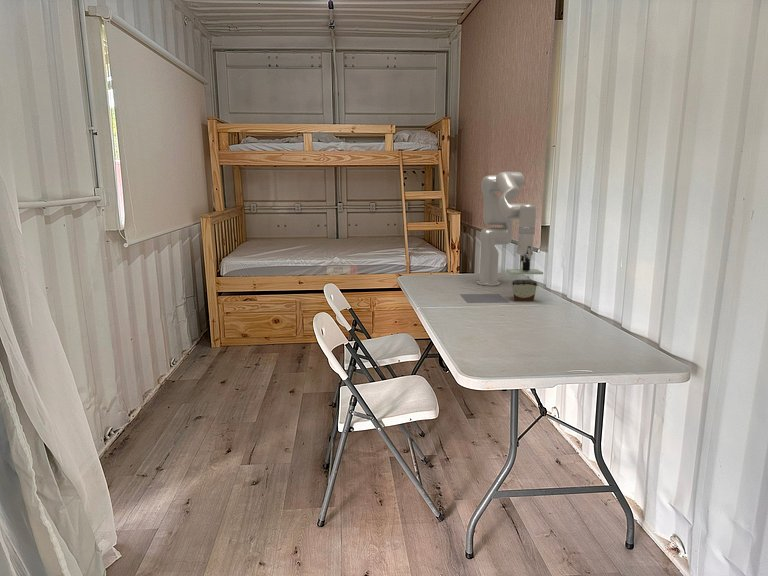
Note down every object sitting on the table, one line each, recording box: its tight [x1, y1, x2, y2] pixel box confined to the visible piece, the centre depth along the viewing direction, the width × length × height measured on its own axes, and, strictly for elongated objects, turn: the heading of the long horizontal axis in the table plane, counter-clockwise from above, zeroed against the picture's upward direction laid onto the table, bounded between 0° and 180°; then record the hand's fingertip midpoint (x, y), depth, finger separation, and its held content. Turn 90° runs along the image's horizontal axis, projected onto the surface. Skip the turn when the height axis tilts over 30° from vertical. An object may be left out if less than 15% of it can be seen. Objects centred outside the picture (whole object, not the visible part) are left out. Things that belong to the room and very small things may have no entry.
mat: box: [459, 293, 511, 304], centre depth 258 cm, size 20×20×1 cm
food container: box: [510, 279, 539, 302], centre depth 254 cm, size 12×6×10 cm, turn 84°
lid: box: [506, 261, 544, 275], centre depth 251 cm, size 9×15×6 cm, turn 93°
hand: (524, 269), depth 252 cm, fingers closed on lid, 4 cm apart
